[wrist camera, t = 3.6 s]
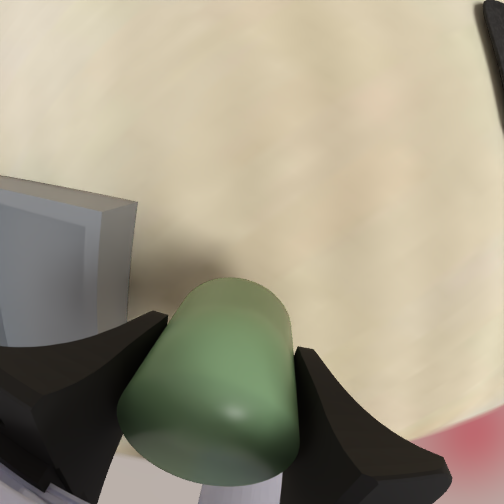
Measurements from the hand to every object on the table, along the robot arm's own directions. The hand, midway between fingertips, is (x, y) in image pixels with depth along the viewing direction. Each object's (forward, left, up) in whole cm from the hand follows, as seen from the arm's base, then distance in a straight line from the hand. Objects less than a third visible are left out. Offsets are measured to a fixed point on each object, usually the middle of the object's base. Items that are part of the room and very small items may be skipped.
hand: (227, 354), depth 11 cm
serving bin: (-7, +16, -9) cm, 20 cm away
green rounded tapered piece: (0, 0, -2) cm, 2 cm away
